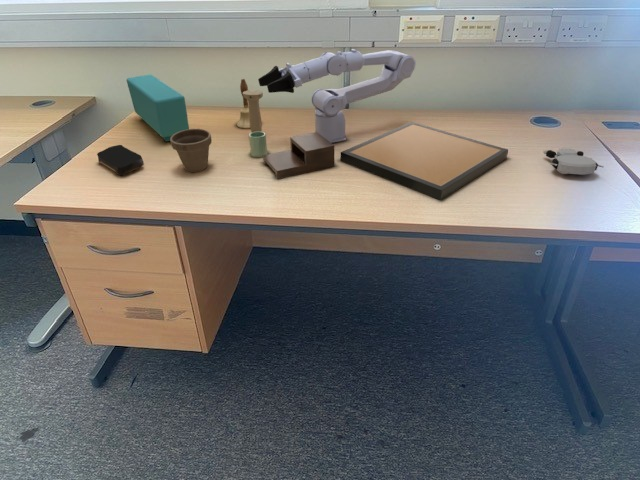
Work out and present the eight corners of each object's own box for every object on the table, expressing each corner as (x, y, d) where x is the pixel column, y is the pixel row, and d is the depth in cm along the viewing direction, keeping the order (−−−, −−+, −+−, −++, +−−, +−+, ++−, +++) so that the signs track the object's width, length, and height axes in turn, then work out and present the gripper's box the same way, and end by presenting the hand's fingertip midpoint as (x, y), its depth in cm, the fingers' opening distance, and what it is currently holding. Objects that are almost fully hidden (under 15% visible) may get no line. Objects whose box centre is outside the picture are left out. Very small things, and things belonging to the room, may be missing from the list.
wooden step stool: (317, 151, 144) (317, 131, 140) (334, 166, 135) (334, 145, 131) (263, 163, 138) (261, 142, 134) (277, 179, 129) (275, 157, 125)
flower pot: (202, 178, 130) (196, 145, 124) (168, 173, 133) (161, 140, 128) (223, 162, 139) (218, 130, 133) (191, 157, 142) (185, 126, 136)
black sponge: (147, 168, 136) (145, 157, 134) (120, 178, 131) (117, 166, 129) (122, 154, 146) (119, 143, 143) (96, 162, 141) (92, 151, 138)
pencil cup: (264, 149, 146) (262, 130, 143) (269, 155, 143) (267, 135, 139) (248, 152, 145) (246, 133, 141) (254, 158, 141) (251, 138, 137)
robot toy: (538, 159, 138) (553, 178, 125) (541, 145, 136) (557, 163, 123) (581, 161, 137) (600, 180, 124) (585, 146, 134) (605, 164, 122)
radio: (195, 139, 154) (187, 95, 146) (165, 146, 150) (155, 101, 141) (162, 113, 178) (153, 73, 169) (135, 118, 173) (125, 77, 165)
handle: (263, 140, 153) (259, 95, 144) (245, 138, 154) (240, 94, 146) (268, 134, 157) (264, 90, 148) (250, 133, 158) (245, 89, 150)
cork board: (506, 158, 138) (410, 129, 159) (508, 149, 136) (411, 121, 157) (440, 200, 117) (340, 160, 138) (442, 190, 116) (340, 152, 137)
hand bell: (232, 125, 165) (226, 80, 156) (249, 119, 170) (244, 75, 161) (247, 130, 161) (242, 84, 152) (264, 123, 166) (260, 78, 157)
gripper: (293, 54, 140) (252, 66, 137) (312, 63, 130) (268, 77, 126) (297, 76, 145) (258, 89, 141) (316, 88, 134) (274, 102, 130)
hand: (263, 85), depth 134 cm, fingers open, 7 cm apart
